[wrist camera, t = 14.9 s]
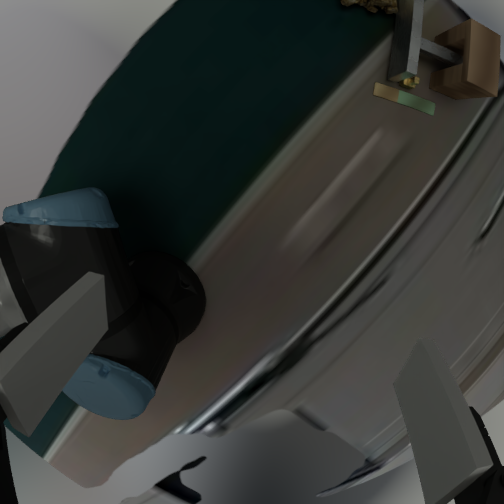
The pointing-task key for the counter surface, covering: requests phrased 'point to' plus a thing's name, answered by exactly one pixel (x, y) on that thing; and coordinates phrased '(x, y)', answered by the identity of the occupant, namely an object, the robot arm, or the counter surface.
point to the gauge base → (458, 68)
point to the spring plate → (413, 43)
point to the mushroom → (375, 5)
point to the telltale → (409, 82)
